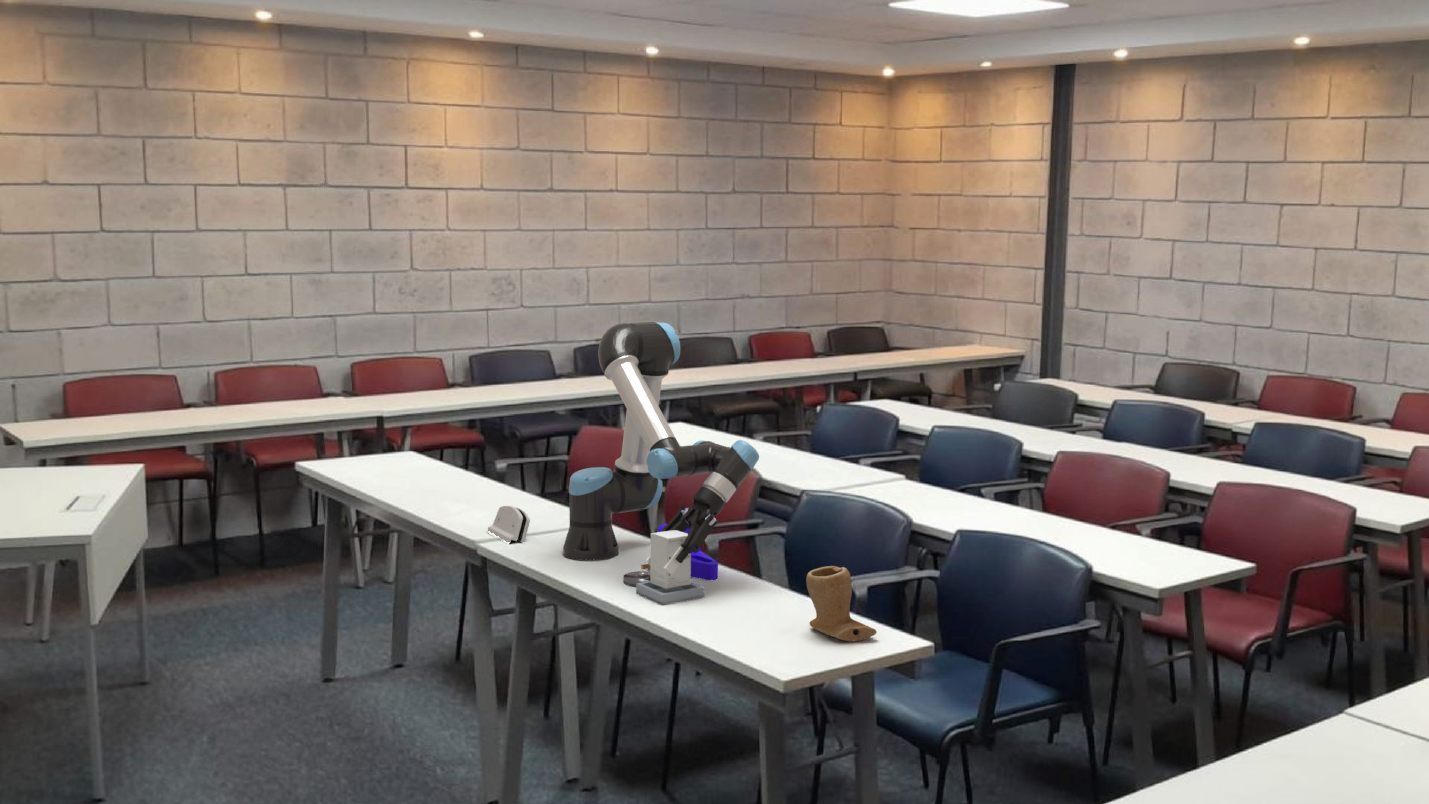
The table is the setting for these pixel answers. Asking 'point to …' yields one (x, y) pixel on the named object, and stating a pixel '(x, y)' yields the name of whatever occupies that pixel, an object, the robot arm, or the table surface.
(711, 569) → the bracket
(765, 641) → the table surface
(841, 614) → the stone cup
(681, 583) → the supplement box
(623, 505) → the robot arm
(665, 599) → the tray
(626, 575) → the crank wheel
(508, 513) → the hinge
